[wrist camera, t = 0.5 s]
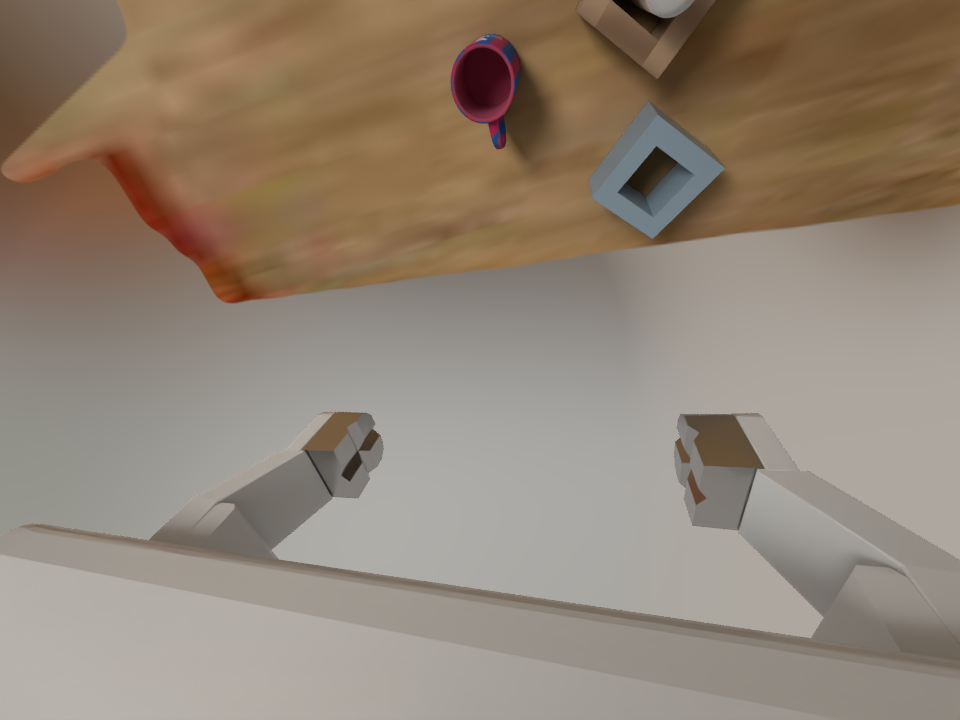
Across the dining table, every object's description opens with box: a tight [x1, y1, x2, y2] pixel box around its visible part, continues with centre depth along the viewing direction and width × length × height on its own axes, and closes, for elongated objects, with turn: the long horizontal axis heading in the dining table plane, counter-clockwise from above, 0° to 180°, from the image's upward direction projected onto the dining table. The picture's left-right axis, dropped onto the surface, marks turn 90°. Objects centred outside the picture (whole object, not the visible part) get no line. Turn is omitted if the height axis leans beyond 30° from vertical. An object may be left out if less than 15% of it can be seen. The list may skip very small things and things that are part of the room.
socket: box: [589, 101, 725, 239], centre depth 43 cm, size 10×10×6 cm
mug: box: [451, 34, 520, 149], centre depth 40 cm, size 7×10×7 cm
